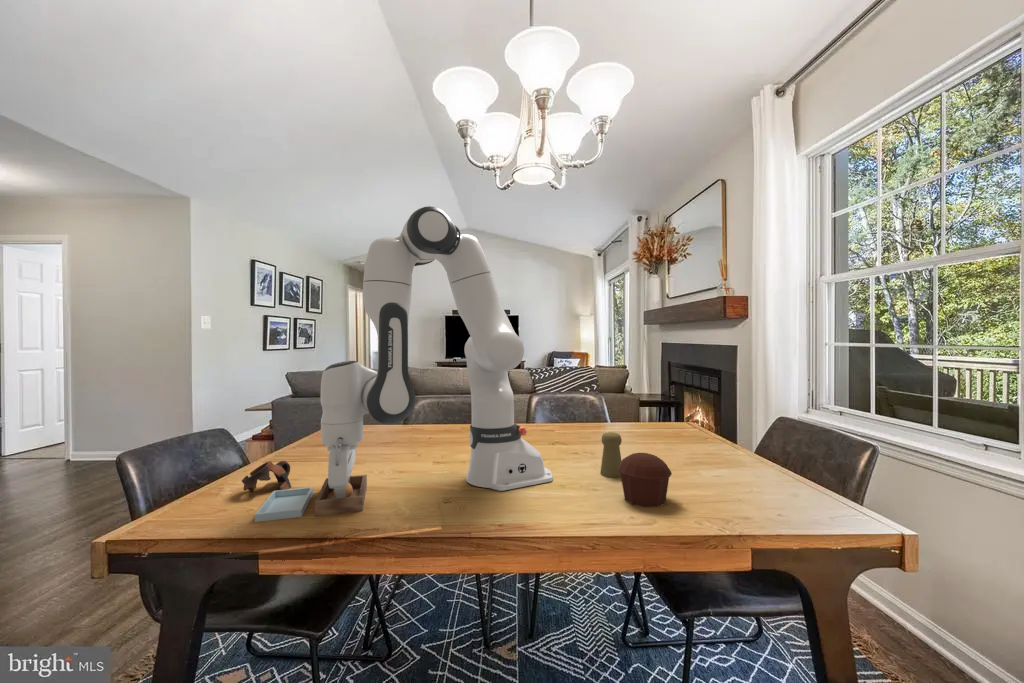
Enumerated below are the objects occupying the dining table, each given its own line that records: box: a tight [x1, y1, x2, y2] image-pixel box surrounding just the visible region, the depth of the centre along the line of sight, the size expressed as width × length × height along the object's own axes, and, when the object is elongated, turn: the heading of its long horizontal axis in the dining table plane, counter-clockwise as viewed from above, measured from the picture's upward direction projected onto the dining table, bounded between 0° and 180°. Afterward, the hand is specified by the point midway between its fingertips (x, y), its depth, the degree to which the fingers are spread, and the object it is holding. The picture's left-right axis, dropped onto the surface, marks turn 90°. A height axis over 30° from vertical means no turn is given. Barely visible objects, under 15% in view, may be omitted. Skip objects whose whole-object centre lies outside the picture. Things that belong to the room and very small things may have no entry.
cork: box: [600, 431, 623, 479], centre depth 112 cm, size 6×6×11 cm
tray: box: [253, 486, 315, 523], centre depth 91 cm, size 8×14×2 cm, turn 16°
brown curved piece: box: [241, 460, 292, 492], centre depth 103 cm, size 12×10×8 cm
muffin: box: [618, 452, 672, 508], centre depth 94 cm, size 12×11×10 cm
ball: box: [334, 483, 353, 498], centre depth 95 cm, size 4×4×4 cm
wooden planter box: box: [314, 474, 368, 517], centre depth 95 cm, size 9×16×4 cm, turn 16°
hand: (343, 494), depth 95 cm, fingers open, 8 cm apart
